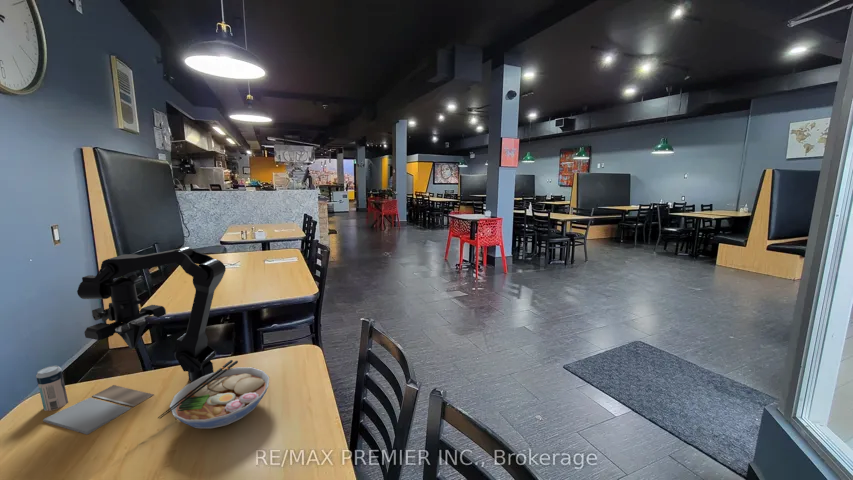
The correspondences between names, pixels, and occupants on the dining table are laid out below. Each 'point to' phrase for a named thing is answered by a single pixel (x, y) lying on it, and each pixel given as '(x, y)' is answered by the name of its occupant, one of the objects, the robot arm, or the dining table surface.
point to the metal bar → (123, 395)
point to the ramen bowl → (220, 397)
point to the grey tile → (86, 415)
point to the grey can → (52, 388)
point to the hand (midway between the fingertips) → (132, 347)
